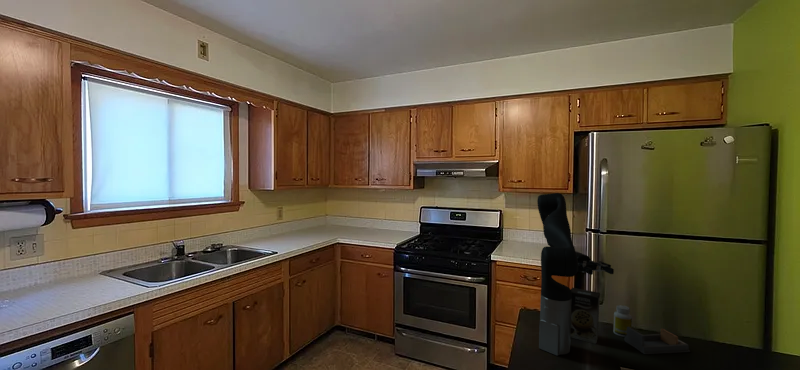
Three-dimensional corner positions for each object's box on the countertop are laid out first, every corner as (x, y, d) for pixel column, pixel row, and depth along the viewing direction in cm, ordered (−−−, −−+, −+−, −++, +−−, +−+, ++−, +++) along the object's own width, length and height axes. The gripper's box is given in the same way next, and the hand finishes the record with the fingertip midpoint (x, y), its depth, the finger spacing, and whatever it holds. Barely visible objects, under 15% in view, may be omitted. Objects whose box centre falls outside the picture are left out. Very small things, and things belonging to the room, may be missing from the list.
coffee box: (566, 337, 122) (568, 291, 122) (570, 330, 128) (571, 286, 127) (596, 344, 117) (598, 297, 116) (598, 337, 122) (600, 291, 122)
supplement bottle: (633, 338, 122) (635, 310, 121) (616, 336, 123) (617, 309, 122) (627, 331, 127) (628, 305, 127) (610, 330, 128) (611, 303, 128)
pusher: (675, 348, 114) (675, 336, 114) (660, 339, 120) (660, 328, 120) (677, 348, 114) (678, 336, 114) (662, 339, 120) (662, 328, 120)
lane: (644, 354, 111) (645, 337, 111) (623, 340, 120) (624, 325, 120) (690, 351, 113) (691, 335, 113) (666, 338, 122) (667, 323, 122)
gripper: (561, 252, 150) (585, 262, 134) (592, 252, 152) (620, 262, 136) (561, 269, 151) (585, 282, 135) (592, 269, 152) (619, 281, 136)
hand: (602, 272), depth 135 cm, fingers open, 8 cm apart
